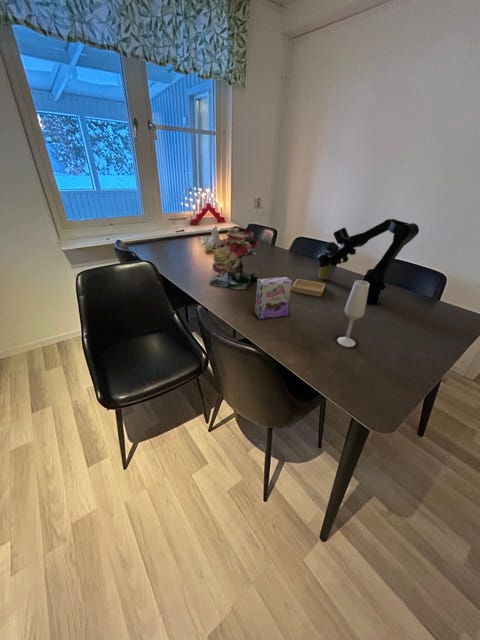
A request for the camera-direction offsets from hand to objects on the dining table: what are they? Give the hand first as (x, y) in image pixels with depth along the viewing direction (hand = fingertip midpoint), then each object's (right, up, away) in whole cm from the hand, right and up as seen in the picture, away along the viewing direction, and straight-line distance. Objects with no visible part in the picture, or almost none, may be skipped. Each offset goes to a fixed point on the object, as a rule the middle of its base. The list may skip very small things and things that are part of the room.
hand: (323, 265), depth 157 cm
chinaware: (-71, +26, +57) cm, 94 cm away
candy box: (-34, -29, -36) cm, 58 cm away
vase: (0, -7, +2) cm, 7 cm away
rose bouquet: (-52, -10, -4) cm, 53 cm away
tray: (-12, -15, -11) cm, 22 cm away
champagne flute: (-8, -40, -53) cm, 67 cm away
